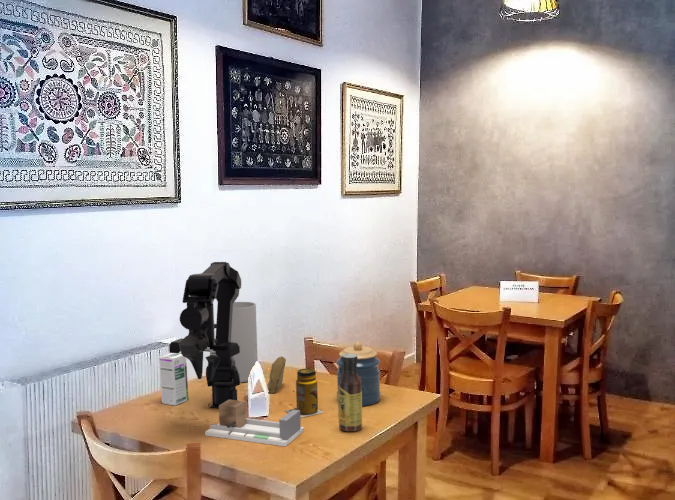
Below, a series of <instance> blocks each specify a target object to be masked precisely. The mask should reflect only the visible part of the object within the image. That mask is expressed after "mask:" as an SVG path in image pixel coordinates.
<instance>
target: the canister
mask: <svg viewBox="0 0 675 500" xmlns="http://www.w3.org/2000/svg"><path fill="white" fill-rule="evenodd" d="M348 353H352V354H356V355H357V359H358V360H357V373H358V375H359V376H360V378H361V389H362V407H365V406H371V405H374V404H377V403H378V402H379V401H380V397H381V387H380V384H381V381H380V380H381V379H380V378H381V377H380V374H381V370H380V369H379V364H380V363H381V360H380V359H379V358H378V357H376V356H377V355H378V352H377V351H376V350H374V349H373V348H371V347H368V346H364V345H363V344H362V342H360V341H356V342H354V343H353V346H348V347H345V348H344V349H343V350H341V351H340V352H339V353H338V356H339V358H338V359H337V360H336V364H337V366H338V367H337V371H336V376H337V377H336V378H337V382H336V383H337V387H336V389H338V383H339V380H340V377H341V374H342V371H343V361H342V355H344V354H348ZM336 394H337V395H336V397H337V398H338V390H337V391H336Z"/></svg>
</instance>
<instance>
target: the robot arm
mask: <svg viewBox="0 0 675 500" xmlns="http://www.w3.org/2000/svg"><path fill="white" fill-rule="evenodd" d="M240 289H242V277H241V275H240V273H239V271H238V270H236V269H235V268H233V267H231V265H230V263H229V262H227V261H213V262H211V263H210V265H209V266H208V267H207V268H206V269H205V270H204V271H203V272H201V273H194V274H190V275H189V276H188V278H187V279H186V281H185V286H184V289H183V290H184V291H183V295H182V296H183V297H182V303H183V304H186V308H184V309H183V310H182V311H181V312H180V315H179V322H180V324H181V326H182V327H183V329H186V330H188V335H186V336H184V338H183V337H182V338H177V339H176V340H173V341H171V342H170V343H169V345H168V352H169V354H170V353H177V354H178V353H181V354H182V355H183V357H186V360H188V361H190V363H191V365H192V368H193V370H194V372H195V375H196V377H197V379H198V380H202V378H203V367H204V352H207V353H208V352H209V355H207V356H206V357H205V360H207V365H206V368H205V378H206V384H207V387H209V388H210V387H211V397H212V399H211V401H212V403H211V404H209V407H210V408H215V409H219V405H220V404H222V403H224V402H226V401H227V400H237V401H238V390H237V389H238V388H236V387H237V386H240V385H241V383H240V375H239V373H238V370H237V368H236V366H235V360H234V358H233V356H234V355H236V354H238V353H240V347H239V345H238V344H237V343H233V342H231V331H232V313H233V303H234V302H236V301H237V299H238V297H239V295H240ZM215 300H216V302H217V307H216V308H217V311H216V322H215V313H214V301H215Z"/></svg>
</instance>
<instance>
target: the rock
mask: <svg viewBox="0 0 675 500" xmlns="http://www.w3.org/2000/svg"><path fill="white" fill-rule="evenodd" d="M286 361H287V358H285V357H284V356H279V357H277V358H276V359H275V360H274V362H273V363H272V364H271V368H270V373H269V376H268V378H269V381H268V382H267V383H268V384H267V390H268V391H269V392H268V393H271V394H276V393H277V392H278V390H279V389H280V388H281V387H282V384H283V379H284V373H285V367H286Z"/></svg>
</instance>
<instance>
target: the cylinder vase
mask: <svg viewBox="0 0 675 500" xmlns="http://www.w3.org/2000/svg"><path fill="white" fill-rule="evenodd" d="M257 329H258V327H257V305H256V303H255V302H251V301H235V302H234V303H233V313H232V331H231V342H233V343H237V344H238V345H239V347H240V353H238V354H236V355H234V356H233V358H234V360H235V366H236V368H237V370H238V373H239V375H240V384H241V383H248V377H249V374H250V371H251V369H252V367H253V366H254V365H255V362H256V361H258V337H257V336H258V334H257Z"/></svg>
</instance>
